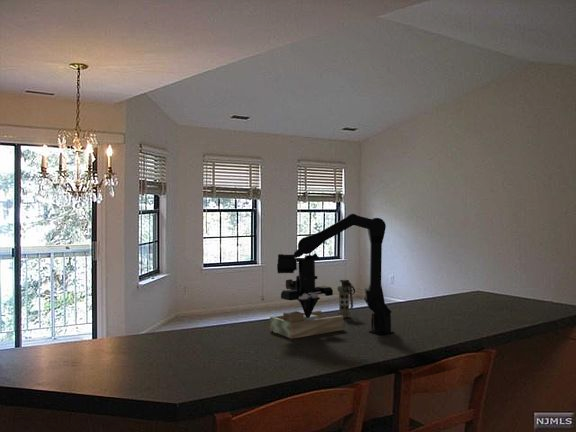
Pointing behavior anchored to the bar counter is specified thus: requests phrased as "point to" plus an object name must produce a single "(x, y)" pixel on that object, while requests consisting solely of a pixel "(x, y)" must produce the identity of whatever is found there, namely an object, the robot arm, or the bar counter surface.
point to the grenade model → (345, 298)
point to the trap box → (306, 325)
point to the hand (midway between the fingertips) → (307, 317)
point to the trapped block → (310, 317)
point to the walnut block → (293, 316)
